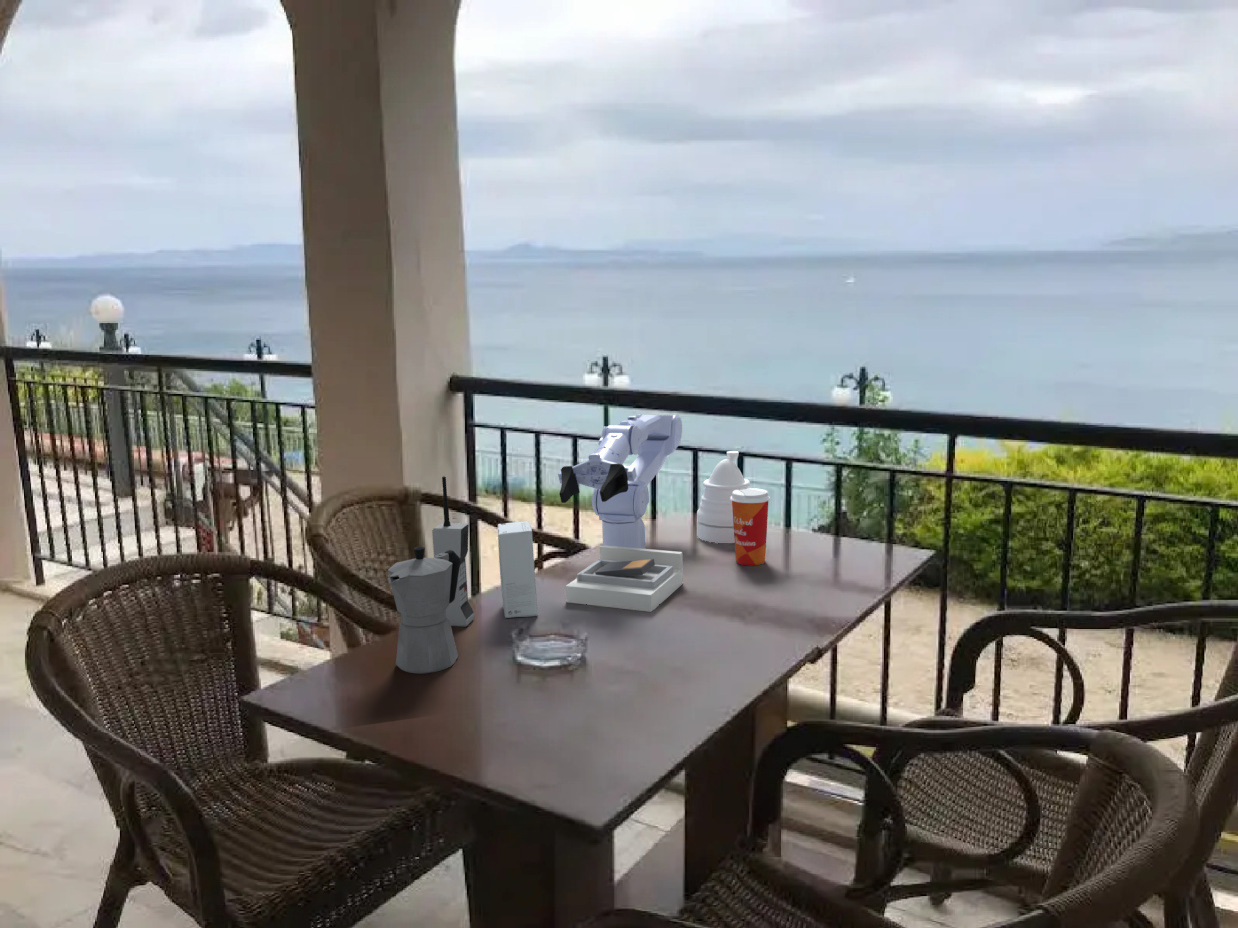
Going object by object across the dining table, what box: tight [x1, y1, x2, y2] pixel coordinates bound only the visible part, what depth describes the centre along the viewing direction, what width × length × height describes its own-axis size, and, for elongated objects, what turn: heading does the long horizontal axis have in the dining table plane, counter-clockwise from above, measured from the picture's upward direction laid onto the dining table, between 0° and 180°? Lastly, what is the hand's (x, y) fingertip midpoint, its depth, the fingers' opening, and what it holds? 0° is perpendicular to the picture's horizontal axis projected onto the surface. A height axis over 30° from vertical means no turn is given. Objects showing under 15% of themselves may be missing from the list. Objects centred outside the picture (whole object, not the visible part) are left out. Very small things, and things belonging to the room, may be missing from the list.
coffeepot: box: [387, 545, 460, 674], centre depth 150 cm, size 15×9×18 cm, turn 150°
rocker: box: [595, 559, 655, 577], centre depth 179 cm, size 6×9×1 cm, turn 67°
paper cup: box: [730, 487, 771, 566], centre depth 195 cm, size 8×8×14 cm
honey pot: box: [696, 450, 751, 544], centre depth 214 cm, size 13×13×18 cm
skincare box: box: [497, 520, 539, 619], centre depth 172 cm, size 8×6×15 cm
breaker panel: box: [565, 544, 684, 613], centre depth 180 cm, size 16×16×6 cm
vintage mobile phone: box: [431, 475, 475, 628], centre depth 165 cm, size 4×5×25 cm
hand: (582, 497), depth 176 cm, fingers open, 7 cm apart
